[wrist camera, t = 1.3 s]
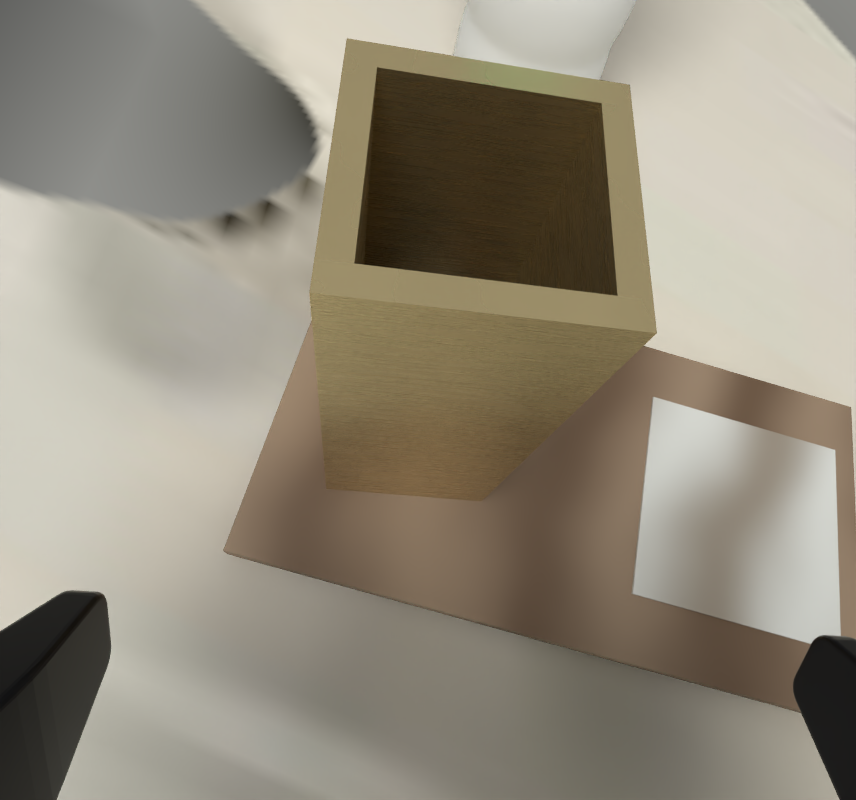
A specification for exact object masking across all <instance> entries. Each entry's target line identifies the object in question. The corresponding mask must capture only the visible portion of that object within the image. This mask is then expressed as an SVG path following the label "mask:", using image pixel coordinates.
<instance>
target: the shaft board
mask: <svg viewBox="0 0 856 800" xmlns="http://www.w3.org/2000/svg"><path fill="white" fill-rule="evenodd" d="M223 551H224V552H226V553H227V554H229V555H233V556H237V557H240V558H244V559H247V560H251V561H255V562H258V563H262V564H265V565H269V566H273V567H276V568H280V569H284V570H287V571H291V572H294V573H298V574H302V575H305V576H309V577H312V578H316V579H320V580H323V581H327V582H330V583H334V584H338V585H341V586H345V587H349V588H352V589H356V590H359V591H363V592H367V593H370V594H374V595H377V596H381V597H385V598H388V599H392V600H395V601H399V602H403V603H406V604H410V605H414V606H417V607H421V608H424V609H428V610H432V611H435V612H439V613H442V614H446V615H450V616H453V617H457V618H460V619H464V620H468V621H471V622H475V623H479V624H482V625H486V626H489V627H493V628H497V629H500V630H504V631H507V632H511V633H515V634H518V635H522V636H525V637H529V638H533V639H536V640H540V641H544V642H547V643H551V644H554V645H558V646H562V647H565V648H569V649H572V650H576V651H580V652H583V653H587V654H590V655H594V656H598V657H601V658H605V659H609V660H612V661H616V662H619V663H623V664H627V665H630V666H634V667H637V668H641V669H645V670H648V671H652V672H655V673H659V674H663V675H666V676H670V677H674V678H677V679H681V680H684V681H688V682H692V683H695V684H699V685H702V686H706V687H710V688H713V689H717V690H720V691H724V692H728V693H731V694H735V695H739V696H742V697H746V698H749V699H753V700H757V701H760V702H764V703H767V704H771V705H775V706H778V707H782V708H785V709H789V710H793V711H796V712H800V713H801V711H800V709H799V707H798V705H797V702H796V700H795V697H794V693H793V680H794V677H795V675H796V673H797V671H798V669H799V667H800V665H801V663H802V661H803V659H804V657H805V655H806V653H807V651H808V649H809V647H810V645H811V643H812V642H813V640H814V639H815V638H817V637H818V636H821V635H834V636H847V637H851V638H854V639H856V513H855V489H854V466H853V442H852V418H851V407H848V406H845V405H842V404H838V403H835V402H831V401H828V400H825V399H821V398H818V397H815V396H811V395H808V394H804V393H801V392H798V391H794V390H791V389H787V388H784V387H781V386H777V385H774V384H771V383H767V382H764V381H760V380H757V379H754V378H750V377H747V376H744V375H740V374H737V373H733V372H730V371H727V370H723V369H720V368H716V367H713V366H710V365H706V364H703V363H700V362H696V361H693V360H689V359H686V358H683V357H679V356H676V355H673V354H669V353H666V352H662V351H659V350H656V349H652V348H649V347H645V346H643V347H642V348H641V349H640V350H639V351H638V352H637V353H636V354H634V355H633V356H632V357H631V358H630V359H629V360H628V361H627V362H626V363H625V364H624V365H623V366H622V367H621V368H620V369H619V370H618V371H617V372H616V373H615V374H614V375H613V376H612V377H611V378H609V379H608V380H607V381H606V382H605V383H604V384H603V385H602V386H601V387H600V388H599V389H598V390H597V391H596V392H595V393H594V394H593V395H592V396H591V397H590V398H589V399H588V400H587V401H585V402H584V403H583V404H582V405H581V406H580V407H579V408H578V409H577V410H576V411H575V412H574V413H573V414H572V415H571V416H570V417H569V418H568V419H567V420H566V421H565V422H564V423H563V424H562V425H560V426H559V427H558V428H557V429H556V430H555V431H554V432H553V433H552V434H551V435H550V436H549V437H548V438H547V439H546V440H545V441H544V442H543V443H542V444H541V445H540V446H539V447H538V448H537V449H535V450H534V451H533V452H532V453H531V454H530V455H529V456H528V457H527V458H526V459H525V460H524V461H523V462H522V463H521V464H520V465H519V466H518V467H517V468H516V469H515V470H514V471H513V472H512V473H510V474H509V475H508V476H507V477H506V478H505V479H504V480H503V481H502V482H501V483H500V484H499V485H498V486H497V487H496V488H495V489H494V490H493V491H492V492H491V493H490V494H489V495H488V496H486V497H485V498H484V499H483V500H482V501H469V500H456V499H444V498H432V497H419V496H407V495H395V494H383V493H370V492H358V491H346V490H333V489H326V480H325V469H324V457H323V445H322V433H321V422H320V410H319V398H318V387H317V375H316V363H315V351H314V340H313V328H312V321H311V323H310V326H309V328H308V331H307V334H306V336H305V339H304V342H303V344H302V347H301V349H300V352H299V355H298V357H297V360H296V362H295V365H294V368H293V370H292V373H291V375H290V378H289V381H288V383H287V386H286V388H285V391H284V394H283V396H282V399H281V401H280V404H279V407H278V409H277V412H276V414H275V417H274V420H273V422H272V425H271V428H270V430H269V433H268V435H267V438H266V441H265V443H264V446H263V448H262V451H261V454H260V456H259V459H258V461H257V464H256V467H255V469H254V472H253V474H252V477H251V480H250V482H249V485H248V487H247V490H246V493H245V495H244V498H243V500H242V503H241V506H240V508H239V511H238V514H237V516H236V519H235V521H234V524H233V527H232V529H231V532H230V534H229V537H228V540H227V542H226V545H225V547H224V550H223Z"/></svg>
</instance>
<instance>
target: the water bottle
mask: <svg viewBox="0 0 856 800" xmlns="http://www.w3.org/2000/svg"><path fill="white" fill-rule="evenodd" d="M635 2H636V0H468V2H467V5H466V7H465V10H464V13H463V16H462V20H461V23H460V27H459V31H458V35H457V39H456V44H455V49H454V54H453V56H457V57H463V58H469V59H475V60H481V61H487V62H493V63H499V64H506V65H512V66H518V67H524V68H530V69H536V70H542V71H548V72H554V73H560V74H566V75H573V76H579V77H585V78H591V79H597V80H600V78H601V75H602V73H603V70H604V67H605V64H606V61H607V58H608V55H609V51H610V48H611V46H612V44H613V43H614V41H615V40H616V38H617V37H618V35H619V33H620V32H621V30H622V29H623V27H624V25H625V23H626V21H627V19H628V17H629V15H630V13H631V11H632V9H633V7H634V5H635Z"/></svg>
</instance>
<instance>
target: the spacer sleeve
mask: <svg viewBox="0 0 856 800" xmlns="http://www.w3.org/2000/svg"><path fill="white" fill-rule="evenodd" d="M309 293H310V304H311V316H312V328H313V340H314V351H315V363H316V375H317V387H318V398H319V410H320V422H321V433H322V445H323V457H324V469H325V480H326V489H333V490H346V491H358V492H370V493H383V494H395V495H407V496H419V497H432V498H444V499H456V500H469V501H482V500H483V499H484V498H485V497H486V496H488V495H489V494H490V493H491V492H492V491H493V490H494V489H495V488H496V487H497V486H498V485H499V484H500V483H501V482H502V481H503V480H504V479H505V478H506V477H507V476H508V475H509V474H510V473H512V472H513V471H514V470H515V469H516V468H517V467H518V466H519V465H520V464H521V463H522V462H523V461H524V460H525V459H526V458H527V457H528V456H529V455H530V454H531V453H532V452H533V451H534V450H535V449H537V448H538V447H539V446H540V445H541V444H542V443H543V442H544V441H545V440H546V439H547V438H548V437H549V436H550V435H551V434H552V433H553V432H554V431H555V430H556V429H557V428H558V427H559V426H560V425H562V424H563V423H564V422H565V421H566V420H567V419H568V418H569V417H570V416H571V415H572V414H573V413H574V412H575V411H576V410H577V409H578V408H579V407H580V406H581V405H582V404H583V403H584V402H585V401H587V400H588V399H589V398H590V397H591V396H592V395H593V394H594V393H595V392H596V391H597V390H598V389H599V388H600V387H601V386H602V385H603V384H604V383H605V382H606V381H607V380H608V379H609V378H611V377H612V376H613V375H614V374H615V373H616V372H617V371H618V370H619V369H620V368H621V367H622V366H623V365H624V364H625V363H626V362H627V361H628V360H629V359H630V358H631V357H632V356H633V355H634V354H636V353H637V352H638V351H639V350H640V349H641V348H642V347H643V346H644V345H645V344H646V343H647V342H648V341H649V340H650V339H651V338H652V337H653V336H654V335H655V334H656V333H657V331H656V321H655V312H654V303H653V294H652V285H651V276H650V266H649V257H648V248H647V239H646V230H645V221H644V212H643V202H642V193H641V184H640V175H639V166H638V157H637V147H636V138H635V129H634V120H633V111H632V102H631V93H630V85H627V84H621V83H615V82H609V81H603V80H597V79H591V78H585V77H579V76H573V75H566V74H560V73H554V72H548V71H542V70H536V69H530V68H524V67H518V66H512V65H506V64H499V63H493V62H487V61H481V60H475V59H469V58H463V57H457V56H451V55H445V54H439V53H433V52H426V51H420V50H414V49H408V48H402V47H396V46H390V45H384V44H378V43H372V42H366V41H359V40H353V39H347V41H346V48H345V55H344V61H343V68H342V75H341V82H340V88H339V95H338V102H337V109H336V116H335V122H334V129H333V136H332V143H331V150H330V156H329V163H328V170H327V177H326V184H325V190H324V197H323V204H322V211H321V218H320V224H319V231H318V238H317V245H316V252H315V258H314V265H313V272H312V279H311V286H310V292H309Z"/></svg>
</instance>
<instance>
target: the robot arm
mask: <svg viewBox="0 0 856 800" xmlns="http://www.w3.org/2000/svg"><path fill="white" fill-rule="evenodd" d="M110 653H111V639H110V628H109V618H108V607H107V601H106V598H105V596H104V595H103V594H102V593H100V592H91V591H74V590H71V591H65V592H63V593H61V594H59V595H57V596H55V597H54V598H52V599H51V600H49V601H47V602H46V603H44V604H43V605H41V606H39V607H38V608H36V609H35V610H33V611H32V612H30V613H28V614H27V615H25V616H24V617H22V618H20V619H19V620H17V621H16V622H14V623H12V624H11V625H9V626H8V627H6V628H5V629H3V630H1V631H0V800H57V797H58V795H59V792H60V790H61V787H62V785H63V782H64V780H65V777H66V774H67V772H68V769H69V767H70V764H71V761H72V759H73V756H74V753H75V751H76V748H77V745H78V743H79V740H80V738H81V735H82V732H83V730H84V727H85V724H86V722H87V719H88V716H89V714H90V711H91V709H92V706H93V703H94V701H95V698H96V695H97V693H98V690H99V687H100V685H101V682H102V680H103V677H104V674H105V672H106V669H107V666H108V663H109V659H110ZM793 693H794V697H795V700H796V702H797V705H798V707H799V709H800V711H801V714H802V716H803V718H804V720H805V723H806V725H807V727H808V729H809V732H810V734H811V736H812V738H813V741H814V743H815V745H816V747H817V750H818V752H819V754H820V756H821V759H822V761H823V763H824V765H825V768H826V770H827V772H828V774H829V777H830V779H831V781H832V783H833V786H834V788H835V790H836V793H837V795H838V797H839V799H840V800H856V639H854V638H851V637H847V636H834V635H821V636H818V637H817V638H815V639H814V640H813V642H812V643H811V645H810V647H809V649H808V651H807V653H806V655H805V657H804V659H803V661H802V663H801V665H800V667H799V669H798V671H797V673H796V675H795V677H794V680H793Z"/></svg>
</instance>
